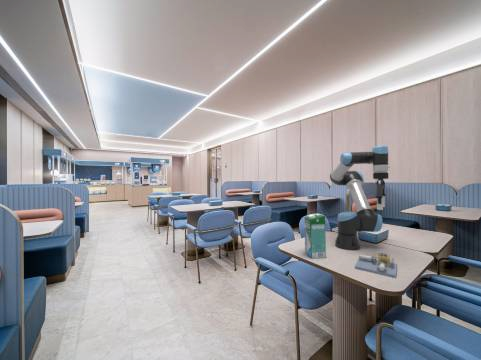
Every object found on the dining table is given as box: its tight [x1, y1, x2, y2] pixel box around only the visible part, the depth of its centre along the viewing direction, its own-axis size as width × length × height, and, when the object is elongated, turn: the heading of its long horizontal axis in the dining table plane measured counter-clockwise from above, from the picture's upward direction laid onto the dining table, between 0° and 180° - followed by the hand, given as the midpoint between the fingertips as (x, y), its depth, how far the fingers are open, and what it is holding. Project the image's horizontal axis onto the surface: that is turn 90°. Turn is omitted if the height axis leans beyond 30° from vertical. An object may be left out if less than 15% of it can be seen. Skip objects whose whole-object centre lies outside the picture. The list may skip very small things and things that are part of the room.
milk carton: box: [304, 213, 327, 259], centre depth 125 cm, size 9×9×25 cm
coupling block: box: [377, 252, 391, 268], centre depth 107 cm, size 5×5×6 cm
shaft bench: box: [354, 253, 398, 279], centre depth 107 cm, size 17×16×4 cm
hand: (381, 208), depth 121 cm, fingers open, 13 cm apart
